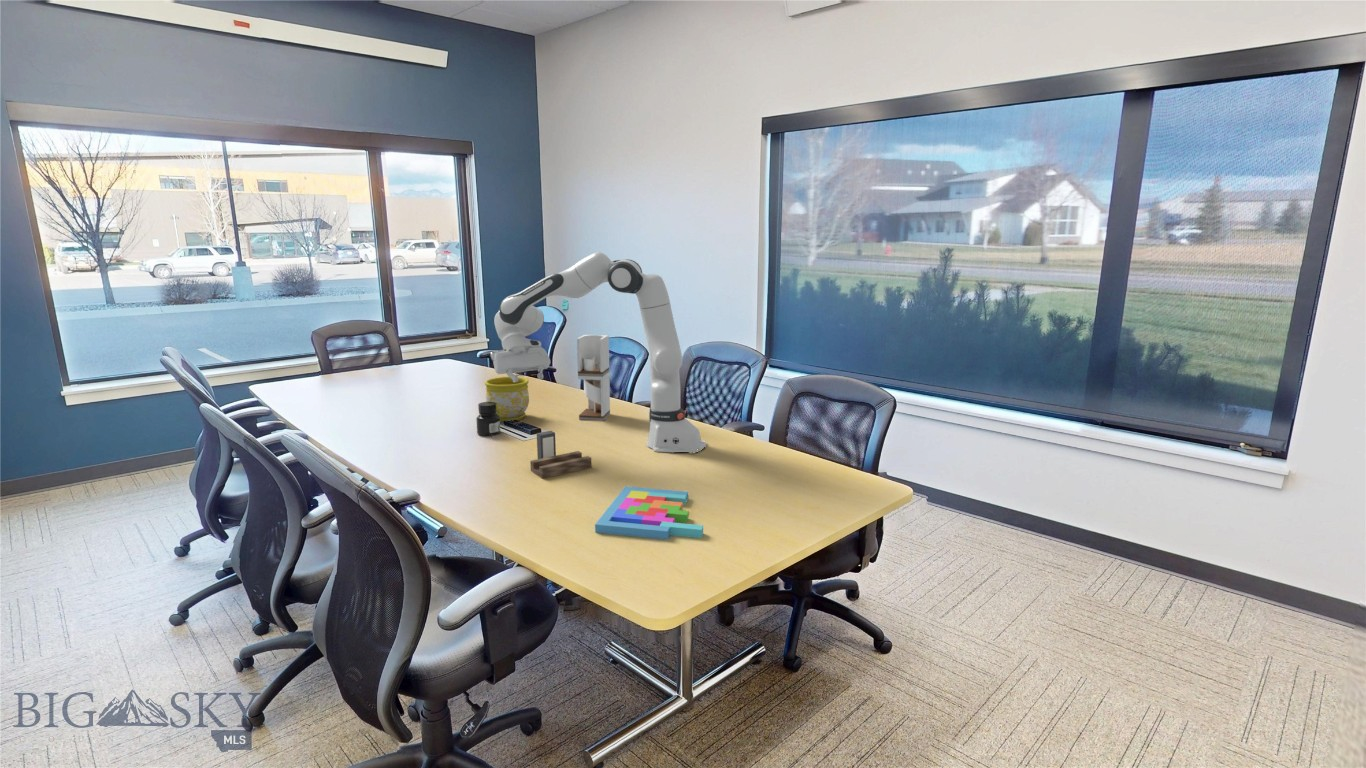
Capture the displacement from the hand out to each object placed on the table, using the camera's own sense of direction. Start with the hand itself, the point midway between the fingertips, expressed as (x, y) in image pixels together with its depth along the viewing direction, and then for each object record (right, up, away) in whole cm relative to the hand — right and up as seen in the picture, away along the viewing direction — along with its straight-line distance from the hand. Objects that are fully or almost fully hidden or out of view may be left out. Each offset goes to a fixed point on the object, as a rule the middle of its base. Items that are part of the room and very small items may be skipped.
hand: (528, 379), depth 234 cm
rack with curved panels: (+16, -16, +52) cm, 57 cm away
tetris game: (+48, -39, -49) cm, 79 cm away
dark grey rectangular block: (+7, -28, -4) cm, 29 cm away
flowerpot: (-20, -16, +50) cm, 56 cm away
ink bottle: (-22, -21, +28) cm, 41 cm away
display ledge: (+14, -30, -12) cm, 35 cm away
